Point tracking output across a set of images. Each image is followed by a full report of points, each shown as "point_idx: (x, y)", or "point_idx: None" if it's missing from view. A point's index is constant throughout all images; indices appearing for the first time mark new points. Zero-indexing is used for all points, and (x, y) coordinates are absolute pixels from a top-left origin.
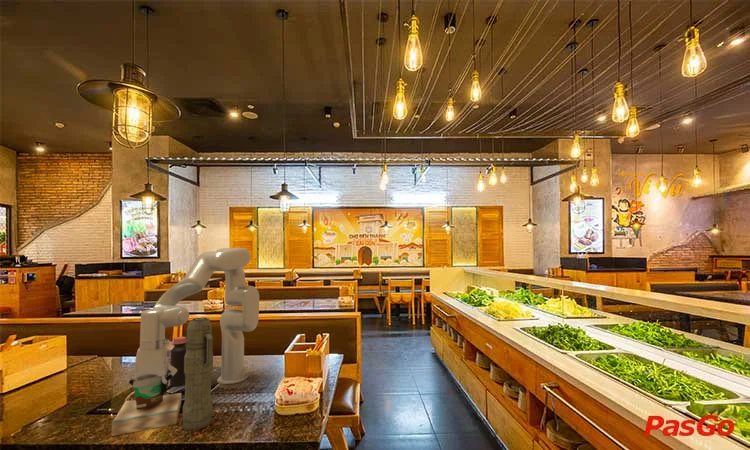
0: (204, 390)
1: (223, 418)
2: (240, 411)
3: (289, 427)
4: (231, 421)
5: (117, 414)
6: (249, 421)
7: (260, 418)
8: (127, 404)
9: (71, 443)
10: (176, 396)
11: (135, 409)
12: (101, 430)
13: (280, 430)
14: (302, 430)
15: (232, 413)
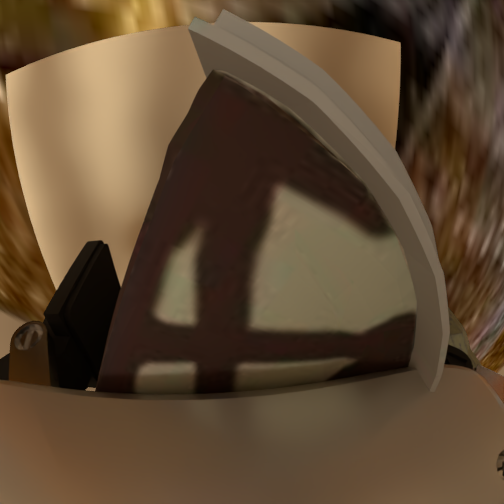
0: None
1: (458, 301)
2: (500, 269)
3: (495, 357)
4: (461, 322)
5: (54, 284)
6: (480, 329)
7: (498, 319)
8: (32, 138)
9: (13, 316)
10: (373, 101)
11: (119, 247)
12: (36, 257)
13: (483, 364)
14: (496, 365)
15: (485, 275)
